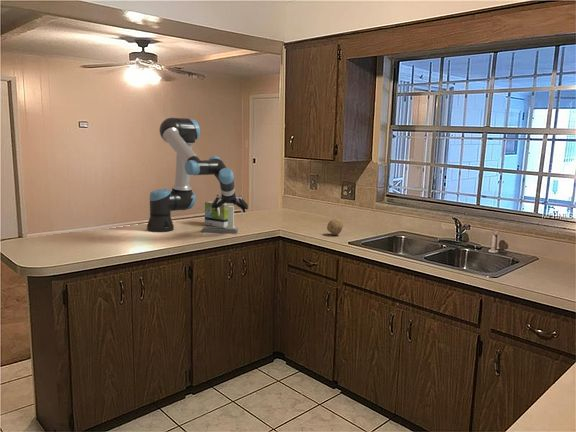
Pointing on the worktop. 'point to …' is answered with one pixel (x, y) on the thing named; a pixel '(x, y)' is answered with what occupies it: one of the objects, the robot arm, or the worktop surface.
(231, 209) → the fader tab
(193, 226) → the worktop surface
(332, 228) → the natural sponge
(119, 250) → the worktop surface
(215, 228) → the fader console
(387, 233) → the worktop surface
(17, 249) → the worktop surface
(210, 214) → the tea box
